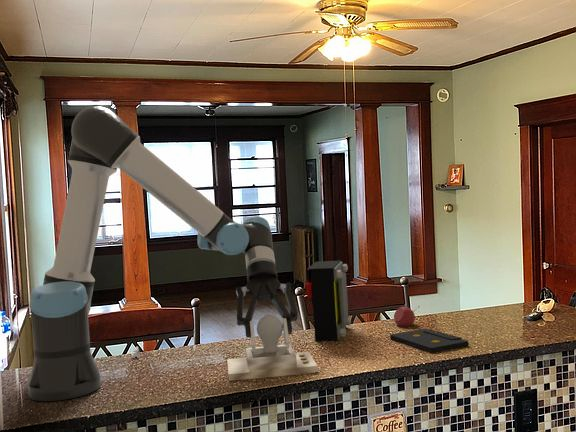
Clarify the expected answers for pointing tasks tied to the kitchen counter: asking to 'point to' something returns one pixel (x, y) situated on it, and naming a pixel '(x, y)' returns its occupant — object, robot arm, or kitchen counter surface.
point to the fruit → (404, 317)
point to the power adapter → (136, 353)
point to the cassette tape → (429, 340)
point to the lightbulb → (269, 333)
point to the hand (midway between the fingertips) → (270, 346)
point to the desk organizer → (270, 364)
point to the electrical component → (328, 299)
